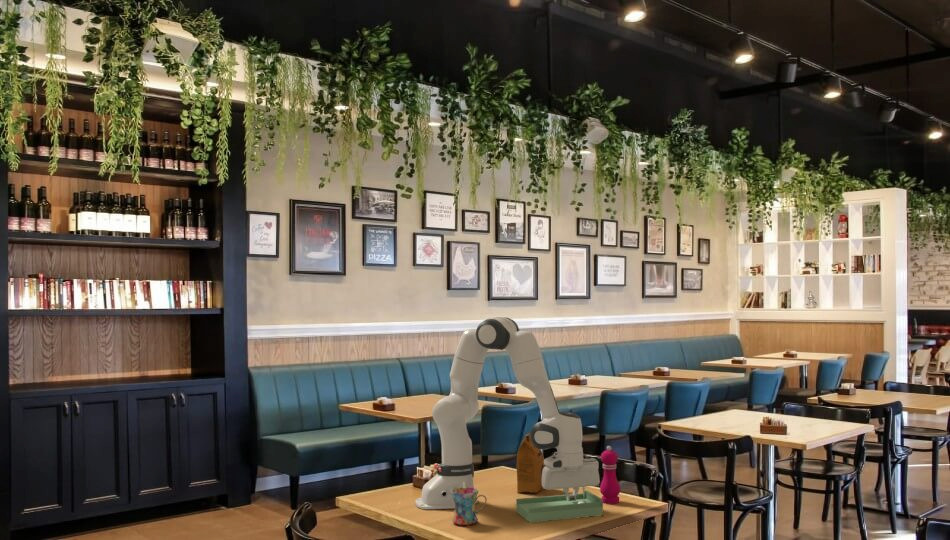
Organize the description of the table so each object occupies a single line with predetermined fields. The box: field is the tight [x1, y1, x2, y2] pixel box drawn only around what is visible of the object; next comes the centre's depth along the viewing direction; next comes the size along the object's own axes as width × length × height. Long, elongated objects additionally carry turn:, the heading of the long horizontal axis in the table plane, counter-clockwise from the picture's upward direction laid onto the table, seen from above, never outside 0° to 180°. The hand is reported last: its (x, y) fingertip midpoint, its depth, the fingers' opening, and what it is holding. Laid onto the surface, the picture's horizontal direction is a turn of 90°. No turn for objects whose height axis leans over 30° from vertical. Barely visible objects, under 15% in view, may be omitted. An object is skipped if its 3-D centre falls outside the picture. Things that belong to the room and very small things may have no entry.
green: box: [516, 457, 604, 523], centre depth 278 cm, size 26×14×17 cm, turn 105°
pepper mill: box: [599, 445, 621, 505], centre depth 293 cm, size 7×7×20 cm
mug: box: [450, 487, 487, 526], centre depth 269 cm, size 12×9×11 cm
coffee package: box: [516, 432, 545, 494], centre depth 313 cm, size 10×12×22 cm
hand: (571, 500), depth 279 cm, fingers closed
